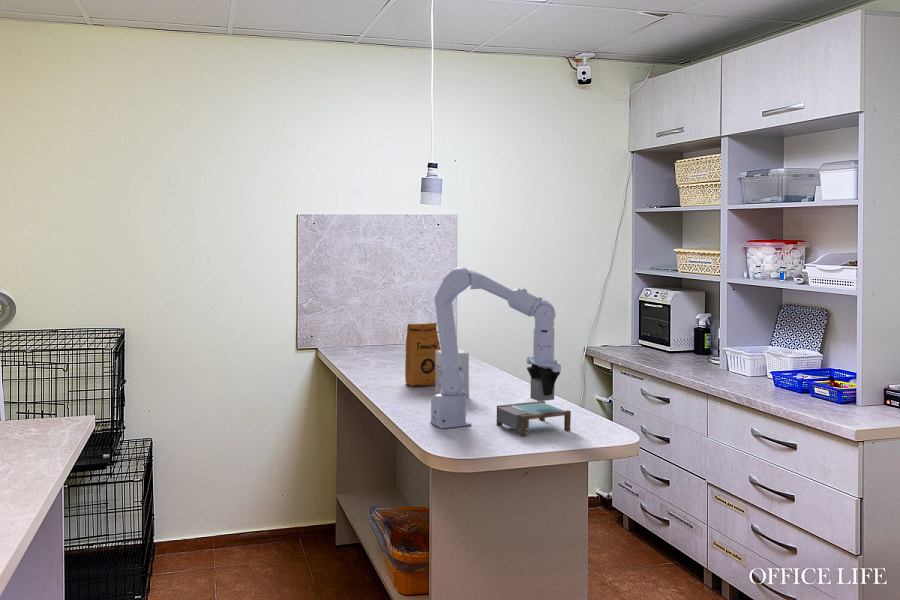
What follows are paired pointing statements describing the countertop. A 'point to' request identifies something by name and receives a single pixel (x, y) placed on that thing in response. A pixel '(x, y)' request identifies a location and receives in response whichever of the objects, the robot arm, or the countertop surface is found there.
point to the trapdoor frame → (541, 417)
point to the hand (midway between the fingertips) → (542, 393)
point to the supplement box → (464, 365)
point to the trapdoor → (522, 413)
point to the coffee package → (421, 354)
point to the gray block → (539, 390)
